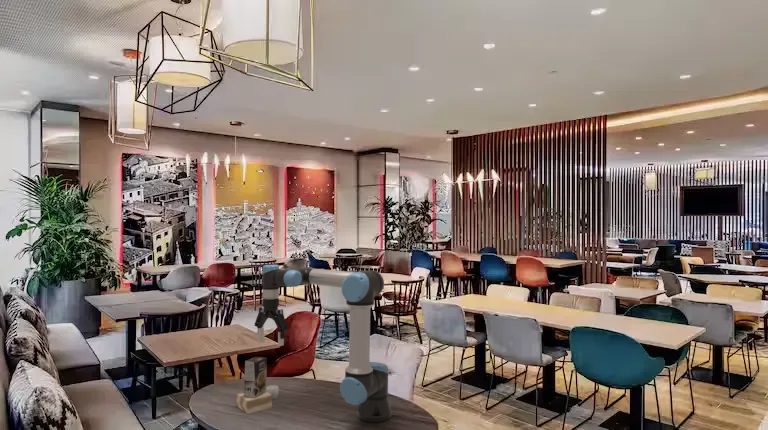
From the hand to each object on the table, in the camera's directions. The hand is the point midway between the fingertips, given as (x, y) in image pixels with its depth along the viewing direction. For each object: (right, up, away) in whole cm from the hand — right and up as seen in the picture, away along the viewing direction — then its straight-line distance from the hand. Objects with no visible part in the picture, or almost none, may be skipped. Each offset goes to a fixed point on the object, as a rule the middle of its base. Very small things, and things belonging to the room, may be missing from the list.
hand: (270, 343), depth 227 cm
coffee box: (-7, -23, -3) cm, 24 cm away
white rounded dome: (-2, -29, +10) cm, 30 cm away
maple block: (-7, -29, -3) cm, 30 cm away
